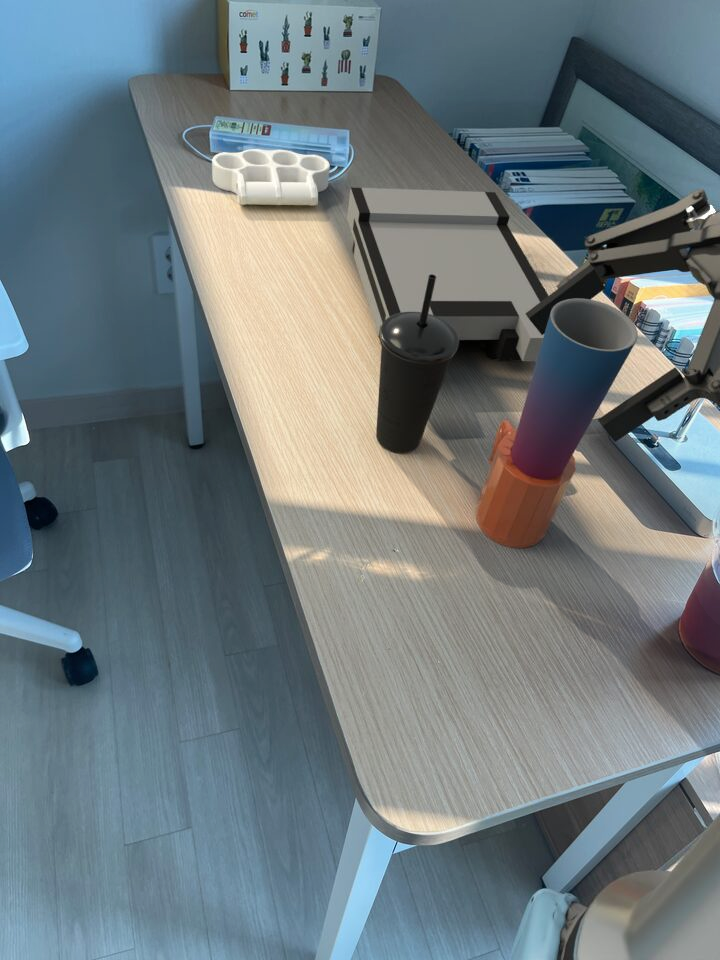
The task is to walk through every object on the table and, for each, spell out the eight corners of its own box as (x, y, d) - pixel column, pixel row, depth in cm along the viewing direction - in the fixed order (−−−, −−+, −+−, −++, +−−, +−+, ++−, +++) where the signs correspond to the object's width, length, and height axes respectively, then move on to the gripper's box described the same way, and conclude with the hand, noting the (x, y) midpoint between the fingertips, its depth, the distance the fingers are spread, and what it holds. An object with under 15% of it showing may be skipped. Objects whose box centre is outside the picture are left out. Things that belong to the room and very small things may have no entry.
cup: (584, 454, 70) (648, 320, 59) (559, 498, 66) (623, 363, 55) (517, 423, 72) (567, 288, 61) (489, 464, 68) (537, 326, 57)
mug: (558, 542, 74) (589, 481, 68) (491, 552, 72) (516, 490, 66) (517, 467, 81) (541, 404, 74) (455, 475, 79) (474, 411, 72)
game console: (387, 388, 87) (398, 329, 81) (344, 242, 108) (350, 187, 102) (554, 384, 91) (576, 328, 86) (481, 244, 112) (495, 192, 107)
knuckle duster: (217, 210, 110) (209, 164, 120) (338, 212, 114) (321, 167, 124) (216, 188, 108) (209, 143, 117) (340, 190, 112) (323, 146, 121)
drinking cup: (400, 404, 86) (433, 245, 71) (447, 444, 82) (492, 285, 68) (348, 430, 82) (372, 267, 67) (395, 473, 78) (431, 310, 64)
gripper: (707, 89, 60) (489, 263, 67) (941, 259, 44) (625, 463, 51) (730, 155, 65) (526, 310, 72) (948, 328, 50) (660, 505, 57)
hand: (567, 374), depth 62 cm, fingers open, 13 cm apart
